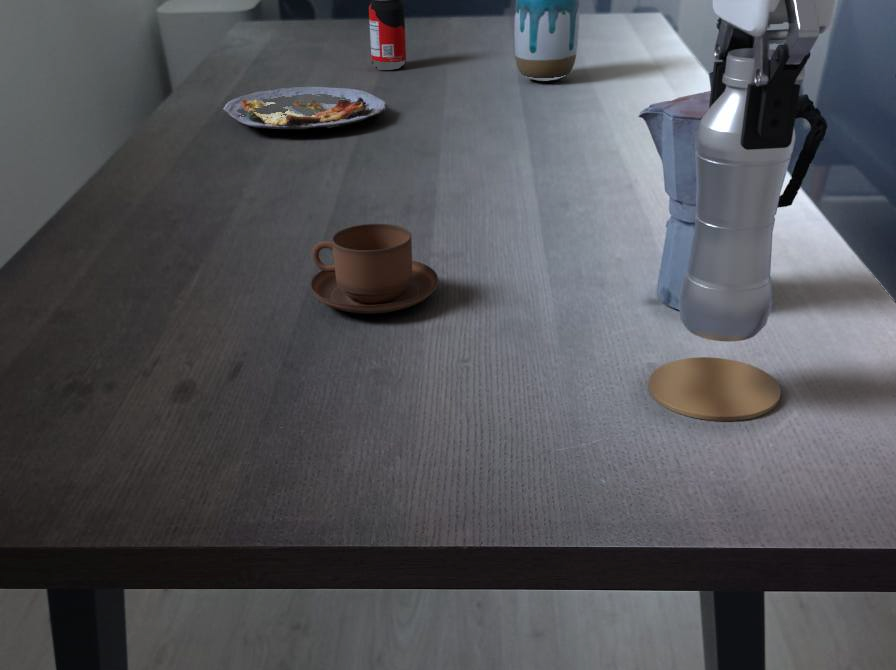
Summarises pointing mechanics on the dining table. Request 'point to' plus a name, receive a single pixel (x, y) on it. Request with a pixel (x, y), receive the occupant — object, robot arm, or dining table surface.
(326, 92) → the food plate
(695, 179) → the moka pot
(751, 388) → the coaster
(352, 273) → the cup and saucer
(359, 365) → the dining table surface
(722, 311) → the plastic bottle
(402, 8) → the beverage can
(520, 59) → the vase
